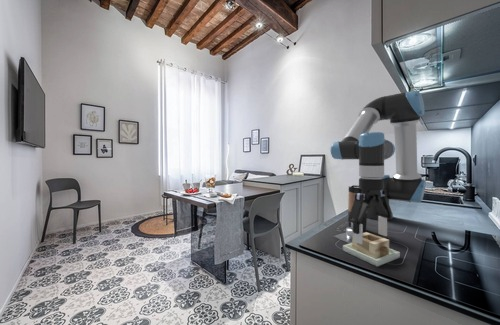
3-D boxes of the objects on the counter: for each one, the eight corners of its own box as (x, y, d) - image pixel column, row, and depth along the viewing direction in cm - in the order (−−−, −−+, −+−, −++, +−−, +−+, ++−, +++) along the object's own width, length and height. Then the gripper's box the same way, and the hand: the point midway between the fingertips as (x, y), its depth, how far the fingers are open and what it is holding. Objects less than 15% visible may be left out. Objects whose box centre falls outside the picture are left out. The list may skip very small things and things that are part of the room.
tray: (364, 243, 81) (364, 239, 81) (399, 257, 70) (399, 252, 70) (342, 250, 75) (342, 245, 75) (377, 266, 64) (377, 260, 64)
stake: (351, 232, 93) (351, 208, 92) (375, 241, 83) (376, 215, 82) (333, 237, 88) (333, 212, 87) (357, 247, 78) (357, 219, 77)
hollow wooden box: (366, 245, 78) (366, 232, 78) (392, 255, 70) (393, 241, 69) (352, 249, 74) (352, 236, 74) (378, 261, 66) (378, 245, 66)
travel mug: (369, 233, 91) (369, 188, 91) (350, 232, 93) (350, 187, 92) (363, 227, 99) (364, 185, 98) (346, 226, 100) (346, 185, 100)
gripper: (381, 174, 81) (381, 228, 81) (336, 179, 69) (336, 242, 70) (403, 176, 74) (402, 235, 75) (357, 181, 63) (357, 251, 63)
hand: (370, 238), depth 72 cm, fingers open, 13 cm apart
